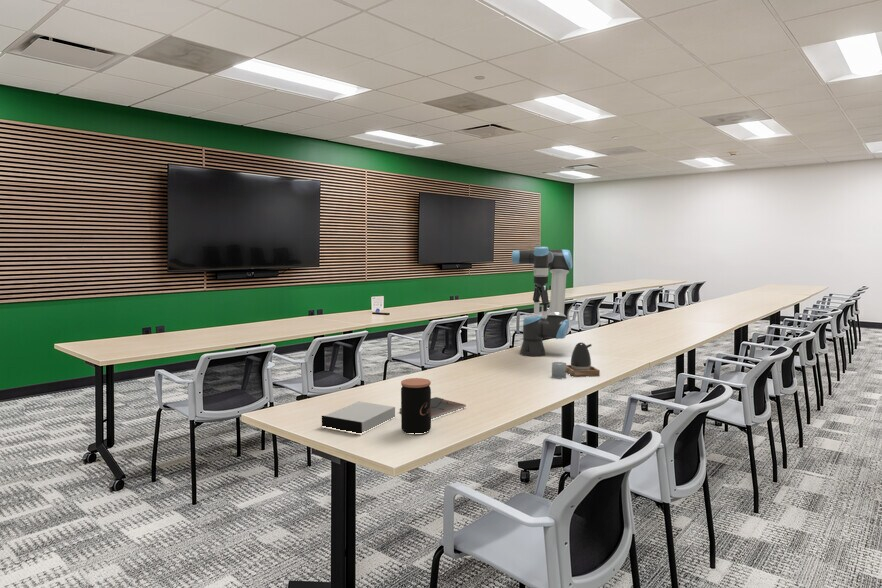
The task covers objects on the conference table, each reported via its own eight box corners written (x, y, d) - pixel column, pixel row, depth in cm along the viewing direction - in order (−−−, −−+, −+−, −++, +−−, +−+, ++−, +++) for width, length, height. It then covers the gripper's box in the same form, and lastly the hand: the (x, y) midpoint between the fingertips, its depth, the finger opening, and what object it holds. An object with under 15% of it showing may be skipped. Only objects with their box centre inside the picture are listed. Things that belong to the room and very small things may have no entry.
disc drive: (321, 429, 203) (321, 415, 203) (358, 412, 223) (358, 400, 223) (360, 436, 195) (360, 422, 195) (395, 419, 215) (395, 406, 214)
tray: (563, 370, 294) (563, 365, 293) (588, 370, 295) (588, 364, 295) (572, 377, 280) (573, 371, 280) (599, 376, 282) (599, 370, 281)
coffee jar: (423, 437, 193) (423, 386, 191) (396, 433, 197) (395, 383, 195) (435, 427, 203) (435, 379, 201) (408, 424, 207) (408, 376, 205)
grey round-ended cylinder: (549, 375, 283) (549, 362, 282) (562, 375, 284) (562, 361, 284) (555, 379, 276) (555, 365, 275) (568, 378, 277) (568, 364, 277)
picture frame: (435, 402, 238) (399, 414, 222) (435, 396, 237) (399, 407, 221) (465, 410, 227) (430, 422, 211) (465, 404, 227) (430, 416, 210)
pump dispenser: (593, 373, 282) (594, 344, 281) (572, 373, 283) (573, 344, 281) (588, 369, 292) (589, 340, 291) (568, 369, 293) (569, 340, 291)
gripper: (527, 274, 306) (527, 313, 308) (541, 277, 281) (540, 319, 283) (540, 274, 307) (540, 312, 308) (555, 277, 282) (554, 318, 284)
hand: (540, 315), depth 296 cm, fingers open, 13 cm apart
